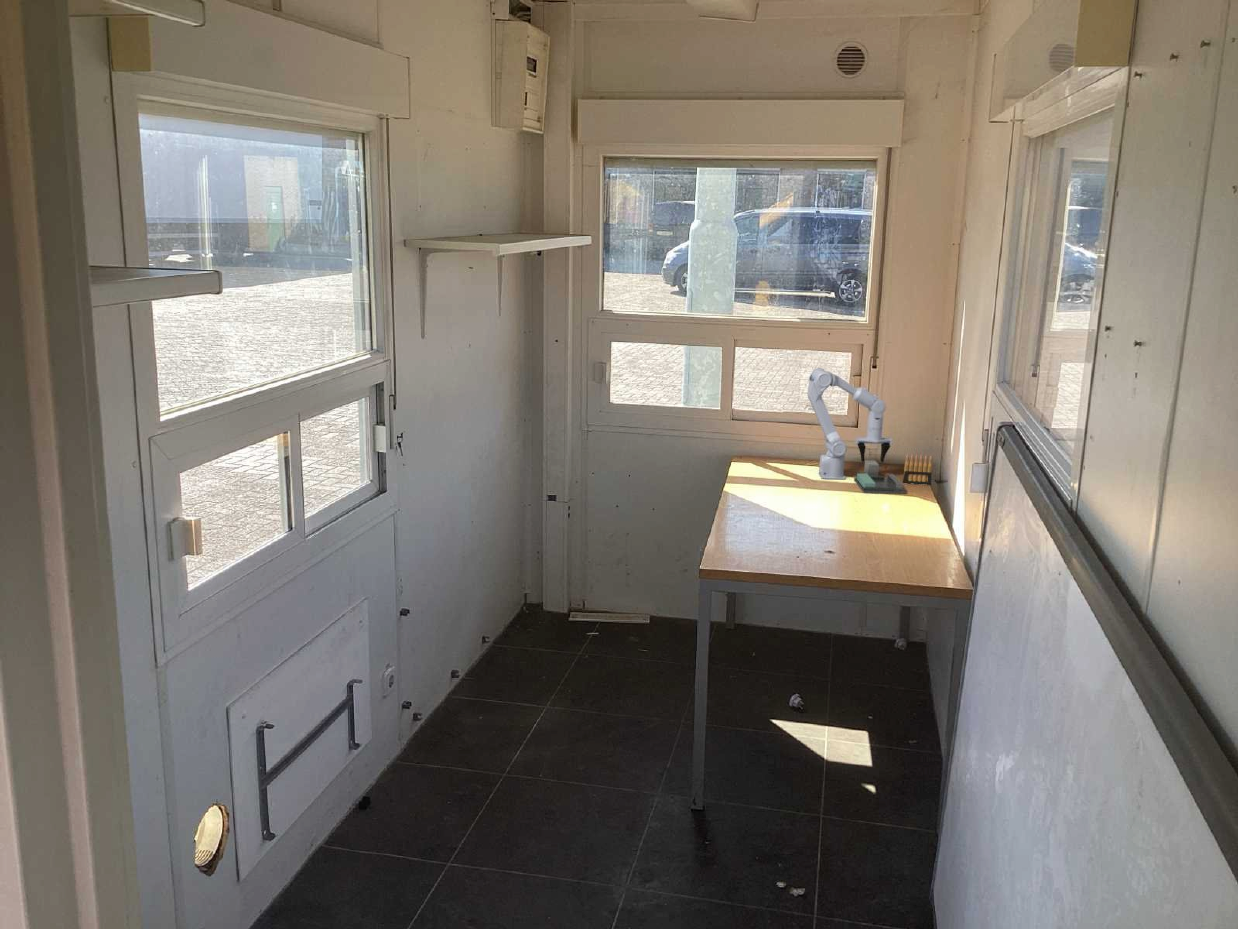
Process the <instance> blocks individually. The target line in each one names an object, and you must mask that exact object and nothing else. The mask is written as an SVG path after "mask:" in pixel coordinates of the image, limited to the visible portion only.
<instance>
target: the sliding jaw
mask: <svg viewBox="0 0 1238 929" xmlns="http://www.w3.org/2000/svg"><path fill="white" fill-rule="evenodd" d="M856 476H857V480H858V481H859V482H860V484H861V485H862V486H863V487H864V488H865V487H875V482H874V481H873V480H872V479H871V478H870V476H869V475H868V474H864V473H856Z"/></svg>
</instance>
